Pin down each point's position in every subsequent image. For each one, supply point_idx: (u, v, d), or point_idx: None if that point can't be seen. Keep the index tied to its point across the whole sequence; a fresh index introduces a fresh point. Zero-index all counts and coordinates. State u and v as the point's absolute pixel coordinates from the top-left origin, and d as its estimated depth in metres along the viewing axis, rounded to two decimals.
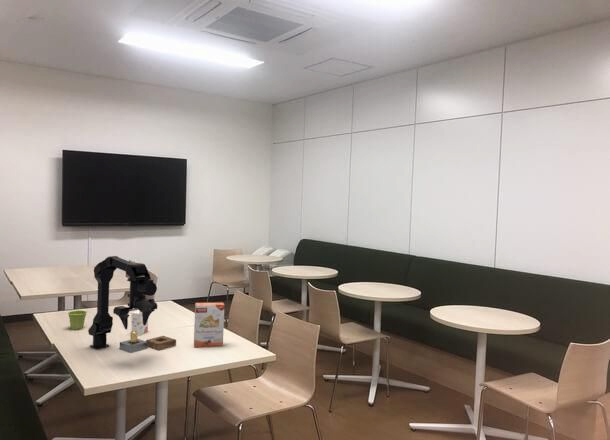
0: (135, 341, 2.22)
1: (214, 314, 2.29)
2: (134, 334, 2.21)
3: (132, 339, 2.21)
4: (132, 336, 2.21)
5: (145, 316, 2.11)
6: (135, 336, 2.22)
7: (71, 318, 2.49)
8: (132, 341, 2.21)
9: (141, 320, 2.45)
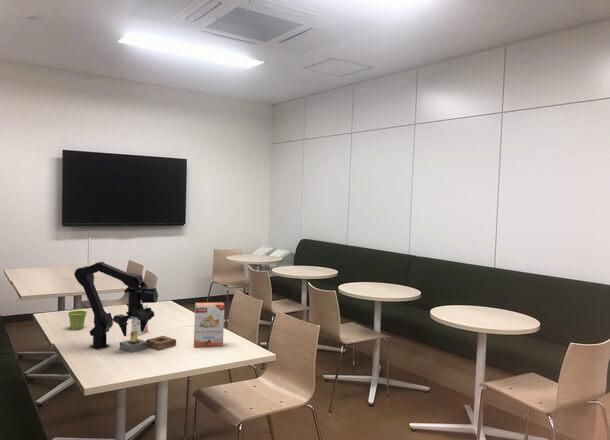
0: (135, 341, 2.22)
1: (214, 314, 2.29)
2: (134, 334, 2.21)
3: (132, 339, 2.21)
4: (132, 336, 2.21)
5: (143, 323, 2.26)
6: (135, 336, 2.22)
7: (71, 318, 2.49)
8: (132, 341, 2.21)
9: None
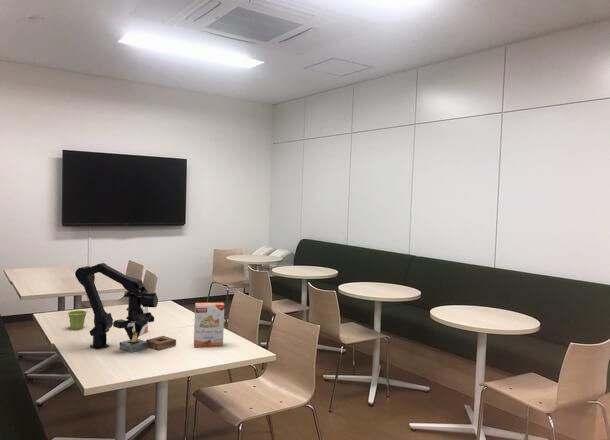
0: (135, 341, 2.22)
1: (214, 314, 2.29)
2: (134, 334, 2.21)
3: (132, 339, 2.21)
4: (132, 336, 2.21)
5: (137, 329, 2.24)
6: (135, 336, 2.22)
7: (71, 318, 2.49)
8: (132, 341, 2.21)
9: None
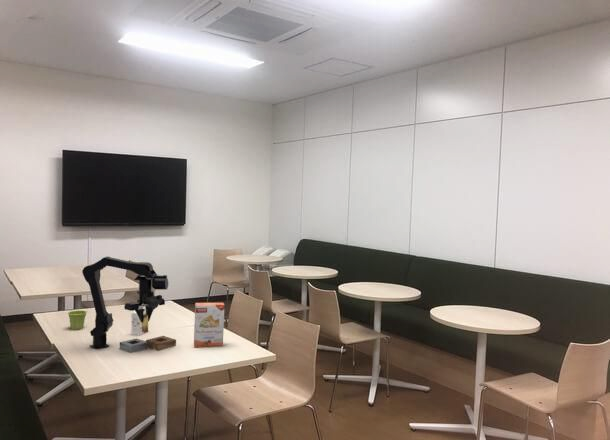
0: (146, 324, 2.23)
1: (214, 314, 2.29)
2: (145, 317, 2.23)
3: (143, 322, 2.23)
4: (143, 319, 2.23)
5: (148, 312, 2.25)
6: (146, 319, 2.23)
7: (71, 318, 2.49)
8: (143, 324, 2.23)
9: None
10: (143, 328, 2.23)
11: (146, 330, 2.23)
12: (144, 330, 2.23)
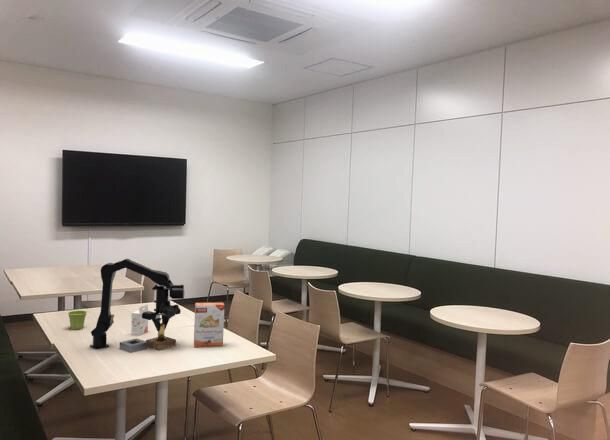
0: (162, 332, 2.27)
1: (214, 314, 2.29)
2: (162, 326, 2.27)
3: (160, 331, 2.27)
4: (160, 328, 2.27)
5: (165, 321, 2.29)
6: (162, 328, 2.27)
7: (71, 318, 2.49)
8: (160, 332, 2.27)
9: (141, 320, 2.45)
10: (159, 337, 2.27)
11: (162, 339, 2.27)
12: (160, 339, 2.27)
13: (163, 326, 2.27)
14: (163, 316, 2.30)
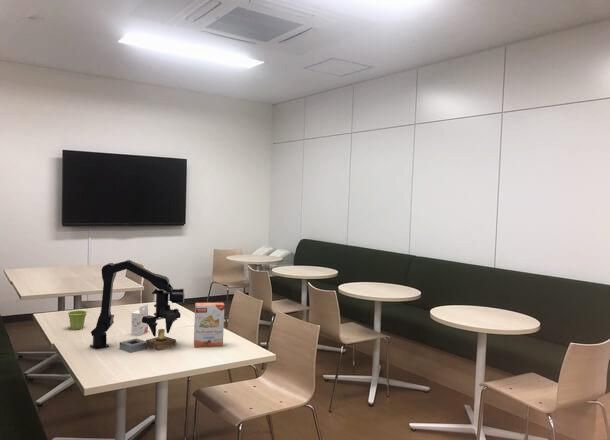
0: (162, 339, 2.27)
1: (214, 314, 2.29)
2: (161, 332, 2.27)
3: (160, 337, 2.27)
4: (159, 334, 2.27)
5: (168, 324, 2.31)
6: (162, 334, 2.27)
7: (71, 318, 2.49)
8: (159, 339, 2.27)
9: (141, 320, 2.45)
10: None
11: None
12: None
13: (163, 332, 2.27)
14: None
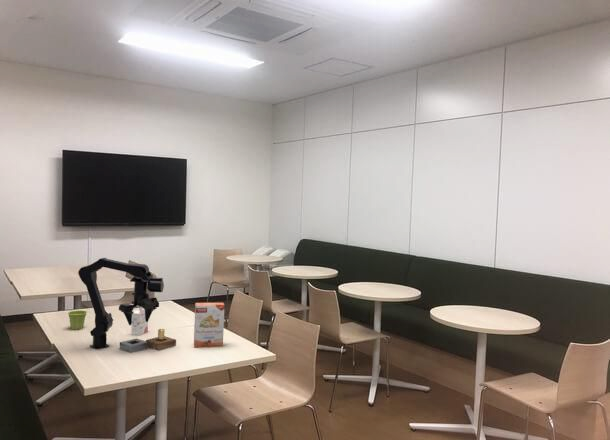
0: (162, 339, 2.27)
1: (214, 314, 2.29)
2: (161, 332, 2.27)
3: (160, 337, 2.27)
4: (159, 334, 2.27)
5: (147, 313, 2.28)
6: (162, 334, 2.27)
7: (71, 318, 2.49)
8: (159, 339, 2.27)
9: (141, 320, 2.45)
10: None
11: None
12: None
13: (163, 332, 2.27)
14: None
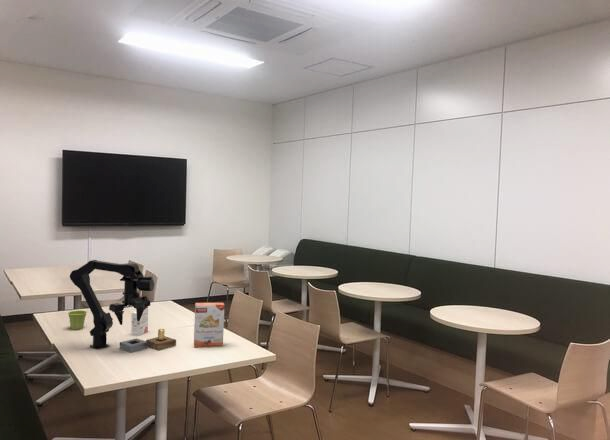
0: (162, 339, 2.27)
1: (214, 314, 2.29)
2: (161, 332, 2.27)
3: (160, 337, 2.27)
4: (159, 334, 2.27)
5: (139, 312, 2.26)
6: (162, 334, 2.27)
7: (71, 318, 2.49)
8: (159, 339, 2.27)
9: (141, 320, 2.45)
10: None
11: None
12: None
13: (163, 332, 2.27)
14: (137, 307, 2.28)
